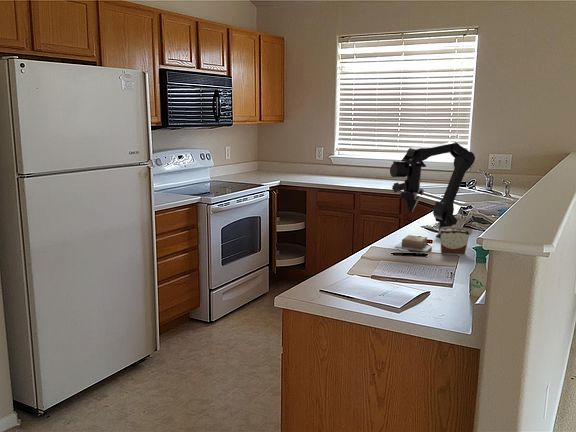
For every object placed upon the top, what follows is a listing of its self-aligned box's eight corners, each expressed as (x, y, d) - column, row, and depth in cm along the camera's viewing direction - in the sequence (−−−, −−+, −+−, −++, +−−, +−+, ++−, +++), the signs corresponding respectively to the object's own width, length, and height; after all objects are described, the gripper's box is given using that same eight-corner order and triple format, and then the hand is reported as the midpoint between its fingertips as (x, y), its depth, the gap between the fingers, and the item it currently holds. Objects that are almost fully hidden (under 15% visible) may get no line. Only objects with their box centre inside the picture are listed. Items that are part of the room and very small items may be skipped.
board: (401, 242, 227) (401, 241, 227) (431, 247, 222) (432, 246, 221) (394, 247, 220) (394, 246, 220) (426, 251, 214) (426, 251, 214)
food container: (464, 250, 217) (466, 226, 215) (468, 255, 211) (471, 230, 209) (433, 249, 217) (435, 225, 215) (437, 254, 211) (439, 229, 209)
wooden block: (408, 234, 226) (402, 239, 218) (427, 237, 223) (421, 241, 215) (407, 242, 227) (401, 246, 219) (426, 244, 223) (420, 249, 215)
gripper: (400, 173, 240) (397, 207, 244) (389, 177, 224) (386, 214, 227) (425, 175, 236) (422, 210, 239) (415, 180, 219) (412, 217, 222)
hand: (410, 213), depth 232 cm, fingers closed
